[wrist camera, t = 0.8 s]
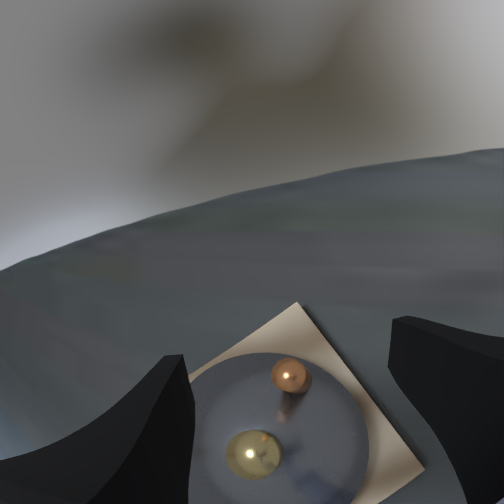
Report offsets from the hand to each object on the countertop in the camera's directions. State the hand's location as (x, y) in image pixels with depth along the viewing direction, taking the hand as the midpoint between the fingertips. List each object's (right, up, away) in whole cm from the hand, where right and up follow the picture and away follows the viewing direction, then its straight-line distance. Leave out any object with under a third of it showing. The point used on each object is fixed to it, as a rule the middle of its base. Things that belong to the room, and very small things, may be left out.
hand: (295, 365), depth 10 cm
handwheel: (-1, -11, +9) cm, 14 cm away
